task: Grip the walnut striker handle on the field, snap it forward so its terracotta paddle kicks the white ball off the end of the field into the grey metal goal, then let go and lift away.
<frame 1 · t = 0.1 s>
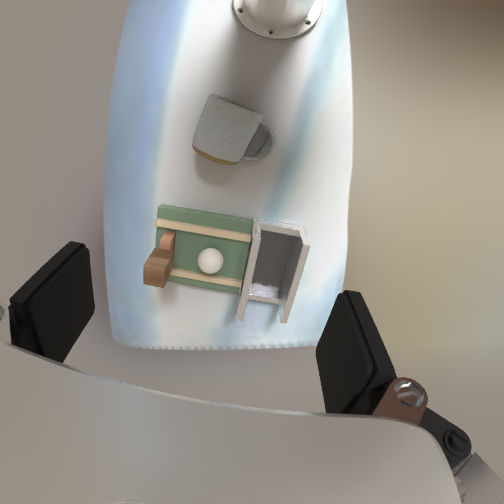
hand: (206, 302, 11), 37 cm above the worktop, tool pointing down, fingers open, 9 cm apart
field: (201, 248, 51), on the worktop
striker: (162, 261, 45), point 6 cm above the worktop, slide at 0.0 cm
goal: (267, 260, 52), on the worktop
ceramic mug: (237, 129, 42), on the worktop
ball: (210, 260, 48), point 3 cm above the worktop, touching field
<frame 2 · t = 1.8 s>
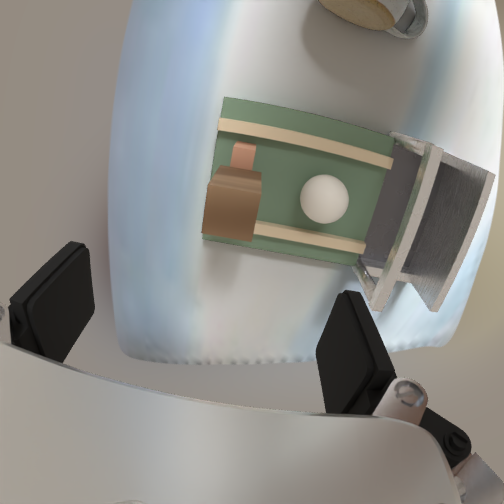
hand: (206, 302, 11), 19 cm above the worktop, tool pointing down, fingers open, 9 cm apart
field: (296, 182, 27), on the worktop
striker: (236, 191, 21), point 6 cm above the worktop, slide at 0.0 cm
goal: (400, 208, 28), on the worktop
ball: (324, 199, 24), point 3 cm above the worktop, touching field
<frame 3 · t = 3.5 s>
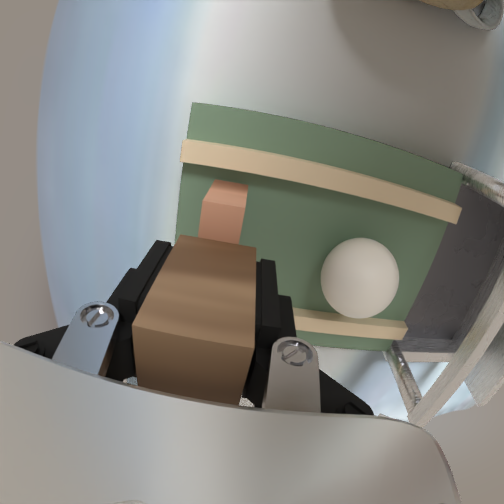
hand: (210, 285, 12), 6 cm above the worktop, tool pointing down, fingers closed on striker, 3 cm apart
field: (311, 241, 18), on the worktop
striker: (209, 287, 12), point 6 cm above the worktop, slide at 0.0 cm, touching gripper
goal: (453, 270, 18), on the worktop
ball: (360, 278, 15), point 3 cm above the worktop, touching field
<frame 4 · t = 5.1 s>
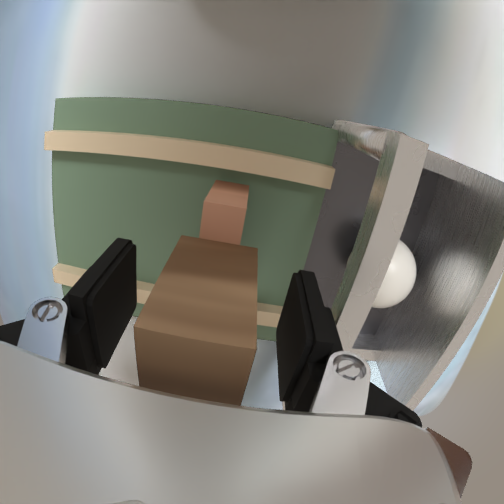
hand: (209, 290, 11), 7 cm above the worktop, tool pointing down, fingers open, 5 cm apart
field: (175, 217, 17), on the worktop
striker: (211, 287, 12), point 6 cm above the worktop, slide at 8.0 cm
goal: (359, 250, 18), on the worktop
ball: (381, 271, 16), point 2 cm above the worktop, tilted 120°, touching goal
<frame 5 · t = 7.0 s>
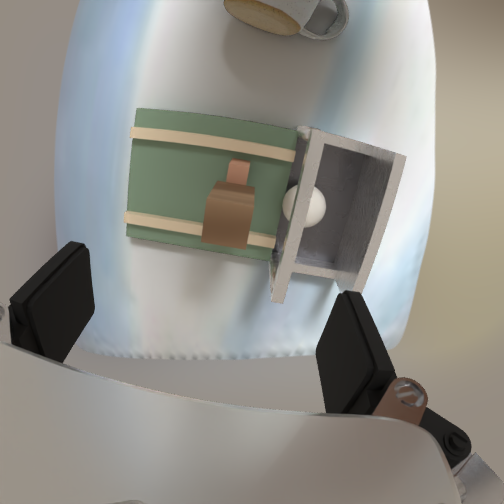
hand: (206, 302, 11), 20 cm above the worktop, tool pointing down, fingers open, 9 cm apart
field: (206, 181, 29), on the worktop
striker: (231, 205, 24), point 6 cm above the worktop, slide at 8.0 cm
goal: (316, 202, 30), on the worktop
ceramic mug: (290, 4, 22), on the worktop
ball: (304, 205, 28), point 2 cm above the worktop, tilted 174°, touching goal
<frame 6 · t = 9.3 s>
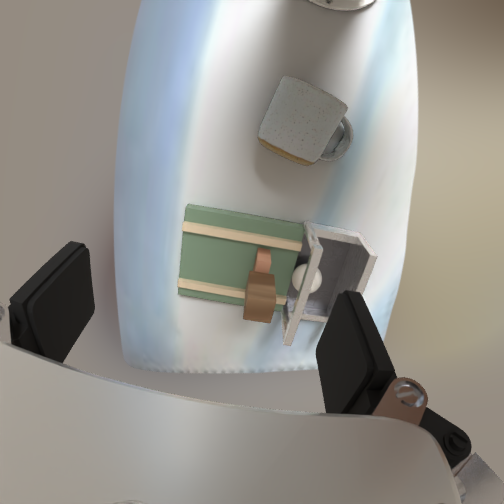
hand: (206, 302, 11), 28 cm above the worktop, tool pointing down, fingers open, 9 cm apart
field: (237, 258, 42), on the worktop
striker: (259, 287, 37), point 6 cm above the worktop, slide at 8.0 cm
goal: (315, 271, 43), on the worktop
ceramic mug: (307, 122, 34), on the worktop
ball: (306, 278, 40), point 2 cm above the worktop, tilted 175°, touching goal
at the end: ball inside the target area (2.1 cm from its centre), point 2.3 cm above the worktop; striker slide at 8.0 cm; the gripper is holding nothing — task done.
